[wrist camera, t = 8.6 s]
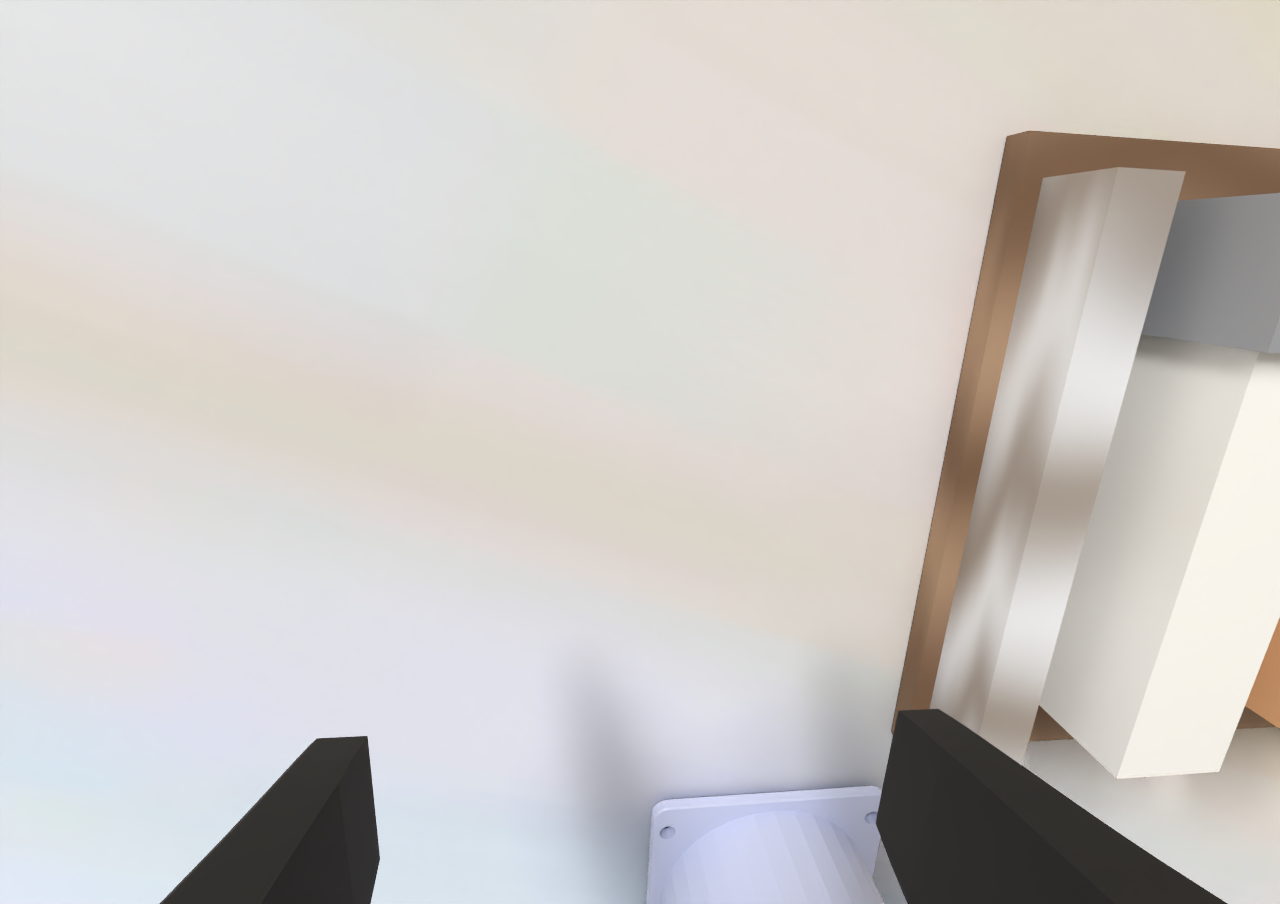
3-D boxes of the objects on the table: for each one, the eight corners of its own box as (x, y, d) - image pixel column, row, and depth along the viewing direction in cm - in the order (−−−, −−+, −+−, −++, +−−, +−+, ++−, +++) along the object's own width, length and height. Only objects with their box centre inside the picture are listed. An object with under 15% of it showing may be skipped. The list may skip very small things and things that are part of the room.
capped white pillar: (1105, 674, 21) (1244, 783, 16) (1003, 679, 20) (1118, 792, 16) (1248, 212, 16) (1483, 200, 12) (1122, 204, 16) (1322, 189, 12)
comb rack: (1303, 707, 23) (1407, 771, 20) (891, 730, 21) (942, 805, 18) (1531, 173, 18) (1715, 159, 15) (1007, 136, 16) (1105, 111, 13)
